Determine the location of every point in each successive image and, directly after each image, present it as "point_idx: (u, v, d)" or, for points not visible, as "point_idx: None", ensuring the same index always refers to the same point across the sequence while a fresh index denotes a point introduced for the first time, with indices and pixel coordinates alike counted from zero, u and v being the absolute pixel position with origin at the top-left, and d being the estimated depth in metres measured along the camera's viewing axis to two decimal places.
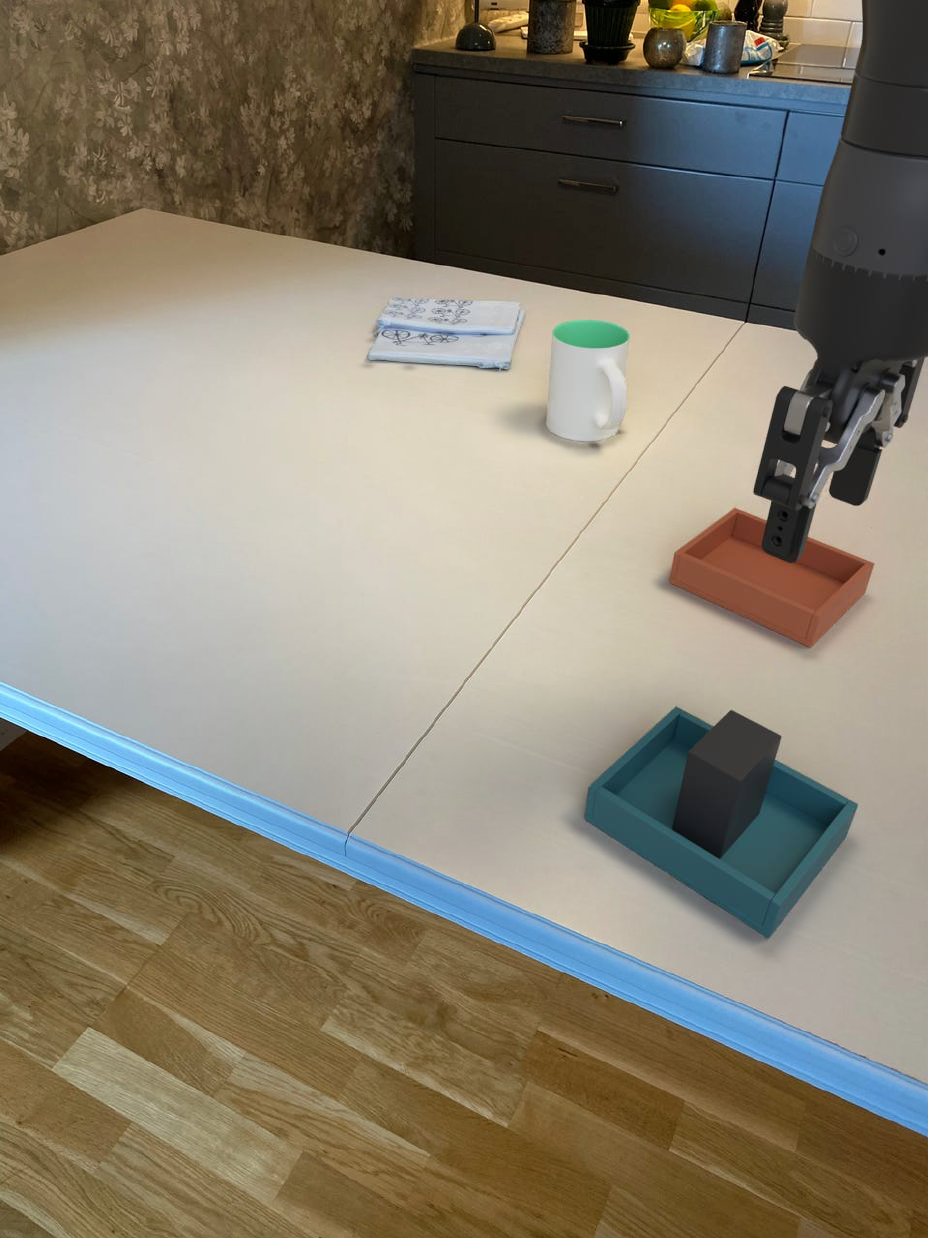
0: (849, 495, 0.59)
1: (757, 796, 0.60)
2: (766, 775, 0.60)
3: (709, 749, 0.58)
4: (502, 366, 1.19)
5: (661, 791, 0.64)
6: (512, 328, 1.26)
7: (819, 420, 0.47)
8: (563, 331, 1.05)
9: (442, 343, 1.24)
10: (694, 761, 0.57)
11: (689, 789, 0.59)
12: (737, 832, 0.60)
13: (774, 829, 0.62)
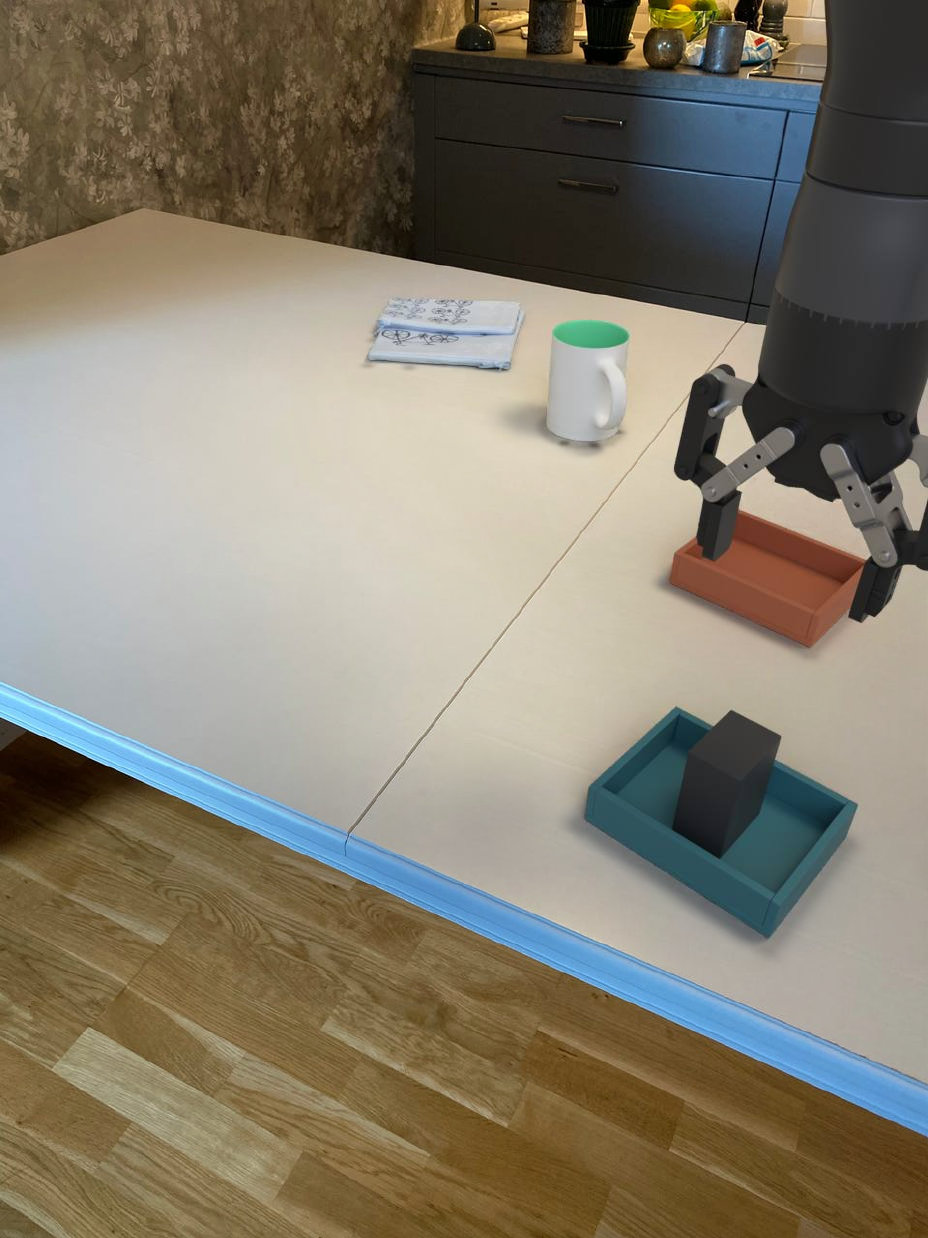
0: None
1: (757, 796, 0.60)
2: (766, 775, 0.60)
3: (709, 749, 0.58)
4: (502, 366, 1.19)
5: (661, 791, 0.64)
6: (512, 328, 1.26)
7: (691, 390, 0.50)
8: (563, 331, 1.05)
9: (442, 343, 1.24)
10: (694, 761, 0.57)
11: (689, 789, 0.59)
12: (737, 832, 0.60)
13: (774, 829, 0.62)
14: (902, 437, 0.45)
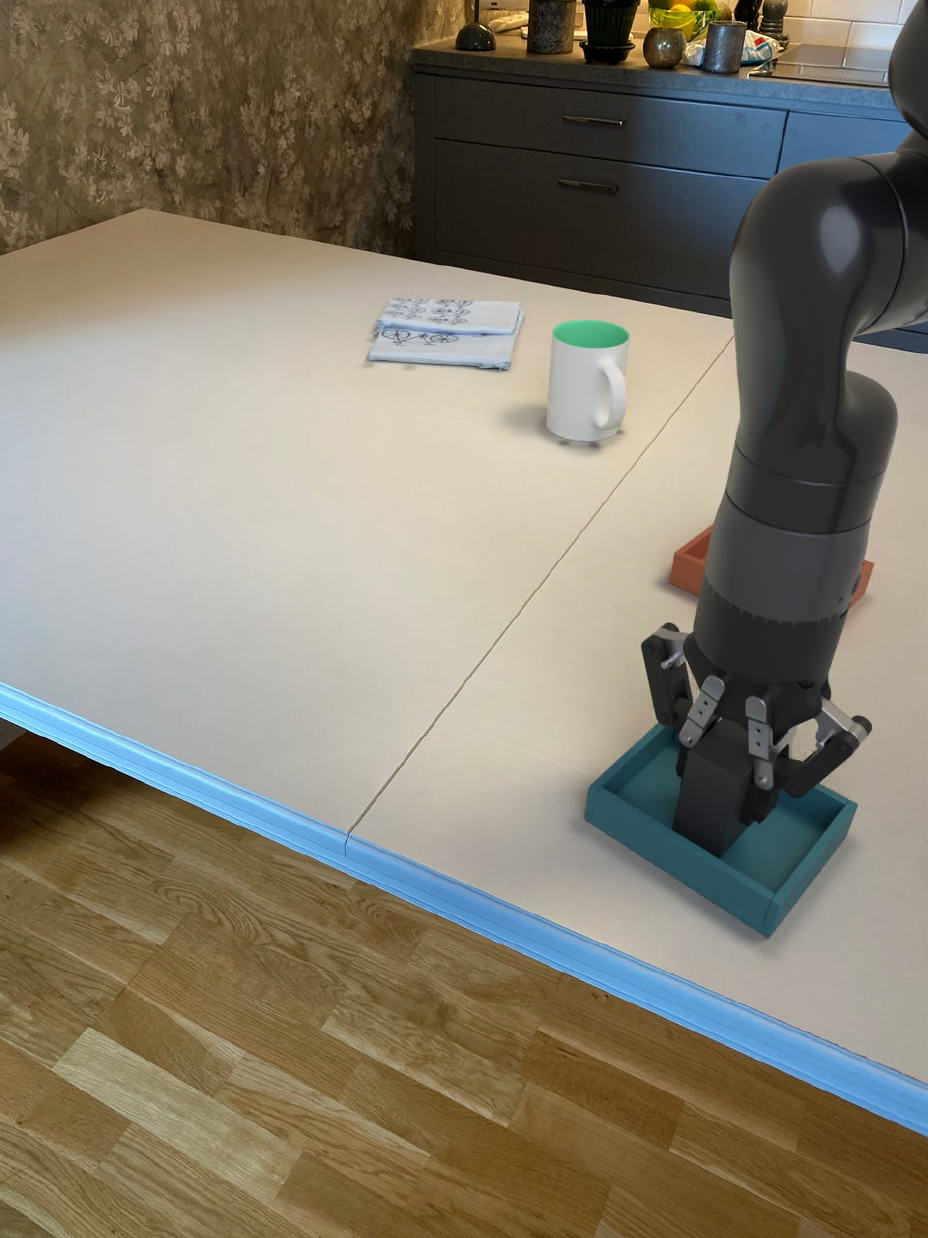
0: None
1: None
2: None
3: (709, 749, 0.58)
4: (502, 366, 1.19)
5: (661, 791, 0.64)
6: (512, 328, 1.26)
7: (642, 652, 0.58)
8: (563, 331, 1.05)
9: (442, 343, 1.24)
10: (694, 761, 0.57)
11: (689, 789, 0.59)
12: (737, 832, 0.60)
13: (774, 829, 0.62)
14: (816, 706, 0.52)
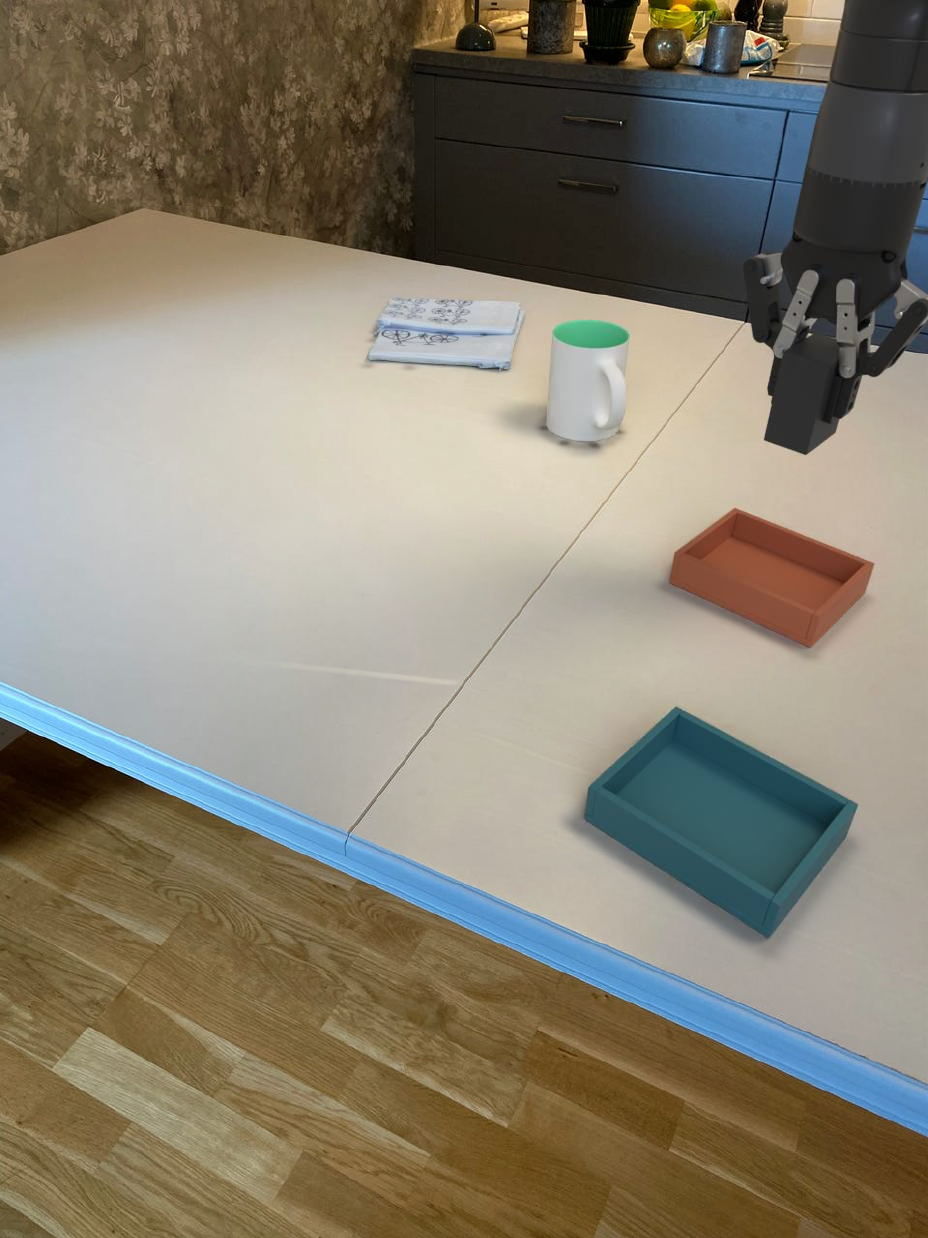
0: None
1: None
2: None
3: (801, 350, 0.69)
4: (502, 366, 1.19)
5: (661, 791, 0.64)
6: (512, 328, 1.26)
7: (744, 272, 0.70)
8: (563, 331, 1.05)
9: (442, 343, 1.24)
10: (788, 359, 0.69)
11: (782, 391, 0.71)
12: (820, 435, 0.72)
13: (774, 829, 0.62)
14: (896, 278, 0.63)
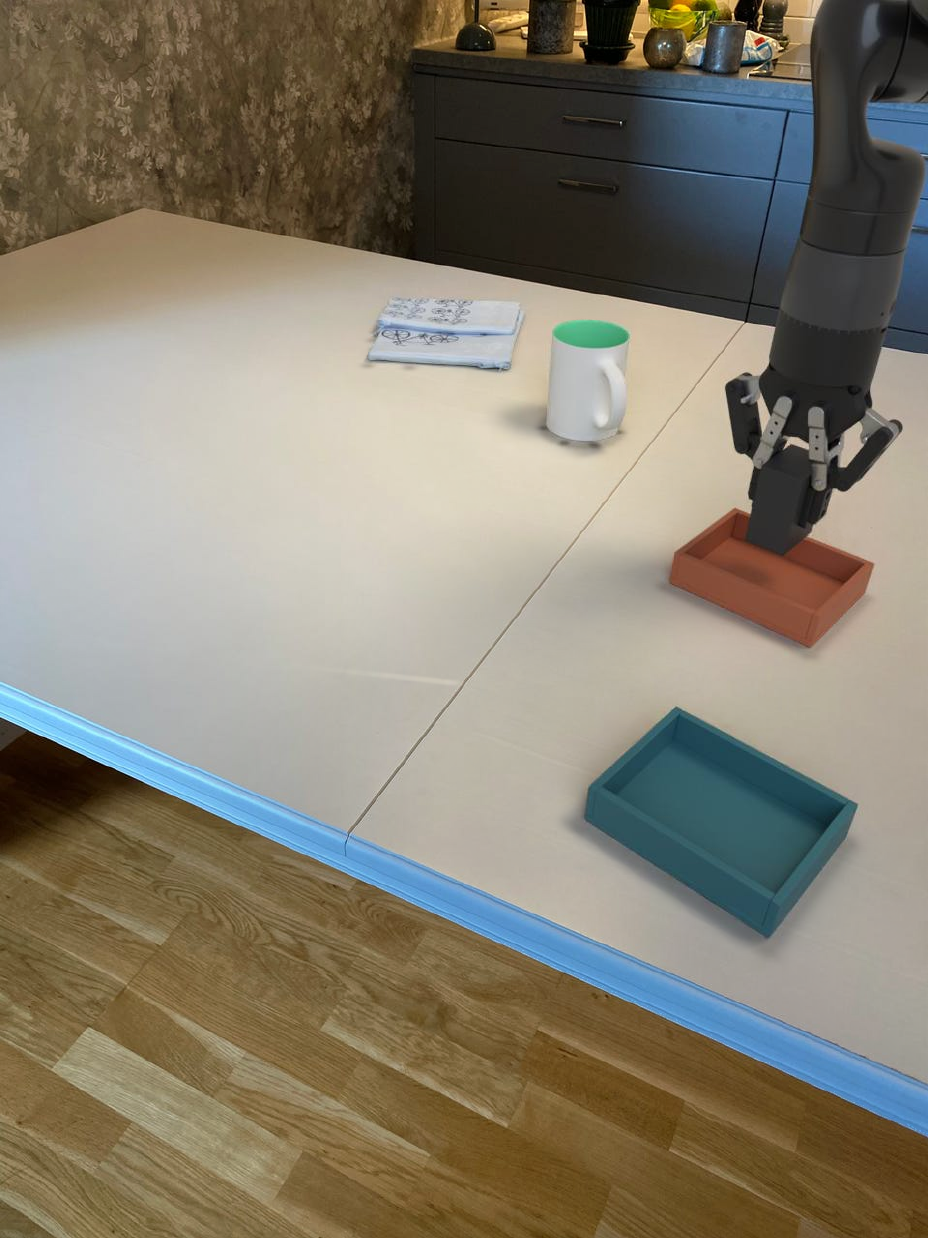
0: None
1: None
2: None
3: (777, 464, 0.76)
4: (502, 366, 1.19)
5: (661, 791, 0.64)
6: (512, 328, 1.26)
7: (726, 392, 0.77)
8: (563, 331, 1.05)
9: (442, 343, 1.24)
10: (766, 472, 0.76)
11: (760, 499, 0.77)
12: (796, 537, 0.79)
13: (774, 829, 0.62)
14: (861, 408, 0.70)
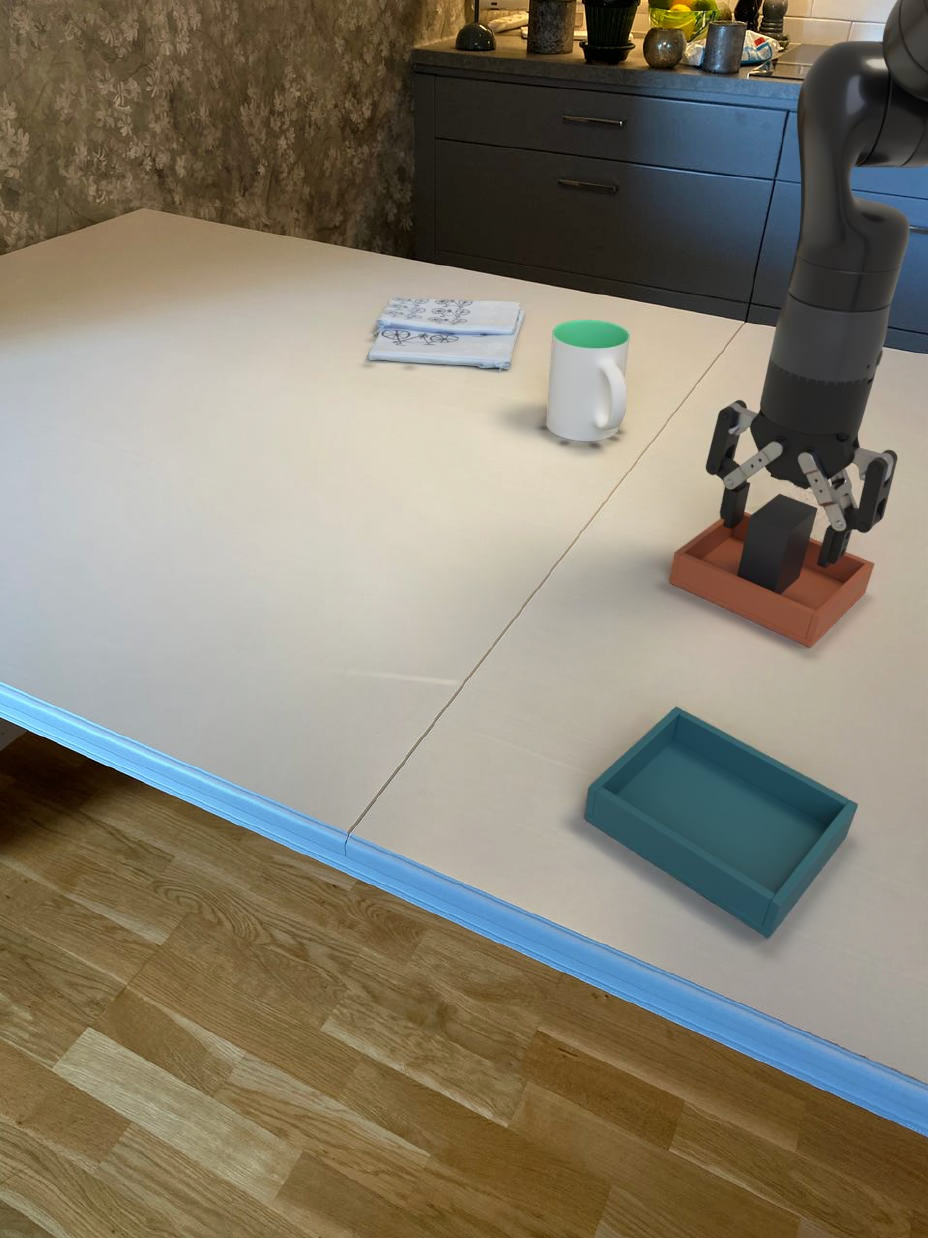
0: None
1: (799, 557, 0.82)
2: (806, 540, 0.81)
3: (765, 514, 0.79)
4: (502, 366, 1.19)
5: (661, 791, 0.64)
6: (512, 328, 1.26)
7: (718, 417, 0.78)
8: (563, 331, 1.05)
9: (442, 343, 1.24)
10: (754, 523, 0.79)
11: (749, 547, 0.80)
12: (784, 584, 0.82)
13: (774, 829, 0.62)
14: (847, 449, 0.72)
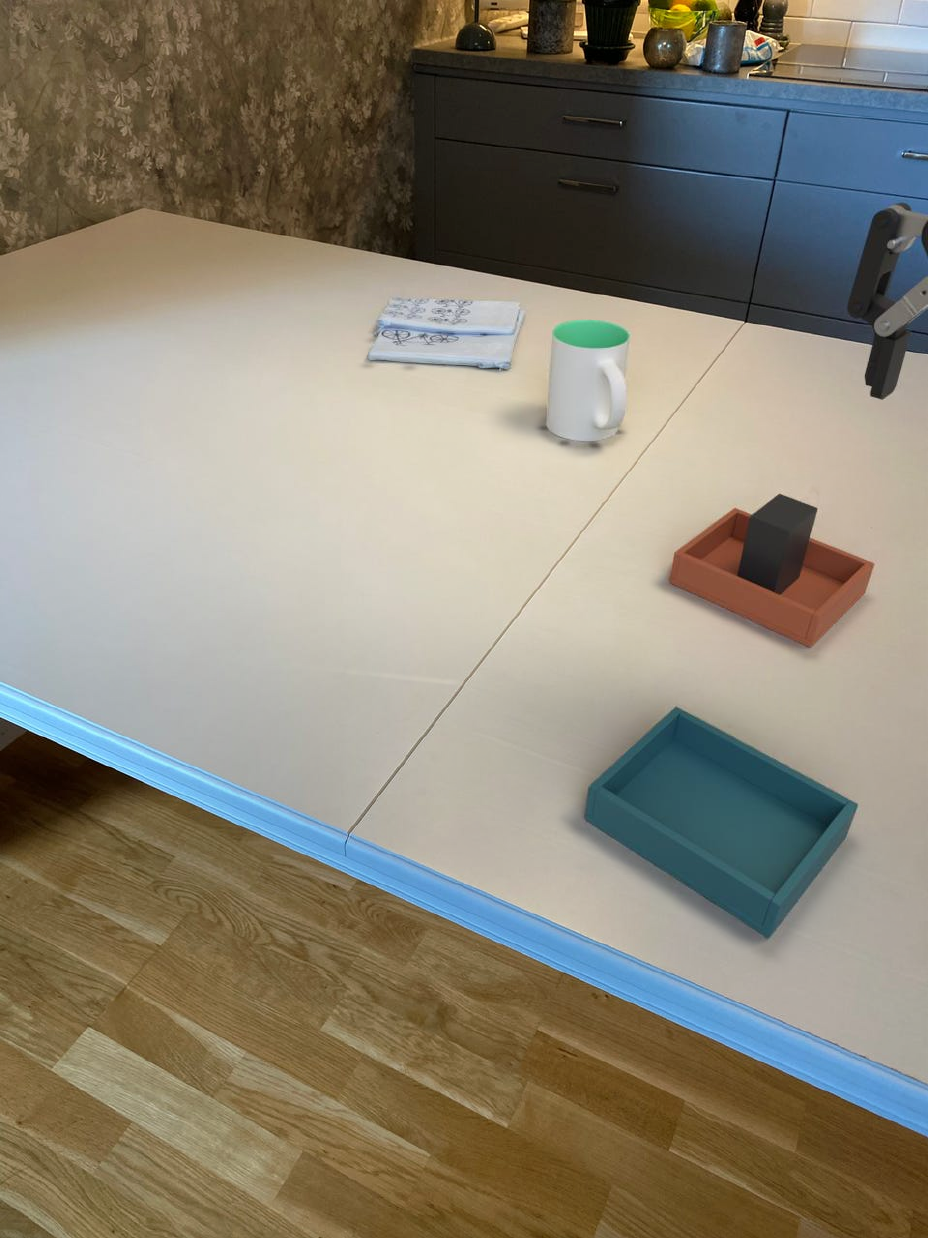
0: None
1: (799, 557, 0.82)
2: (806, 540, 0.81)
3: (765, 514, 0.79)
4: (502, 366, 1.19)
5: (661, 791, 0.64)
6: (512, 328, 1.26)
7: (871, 224, 0.54)
8: (563, 331, 1.05)
9: (442, 343, 1.24)
10: (754, 523, 0.79)
11: (749, 547, 0.80)
12: (784, 584, 0.82)
13: (774, 829, 0.62)
14: None
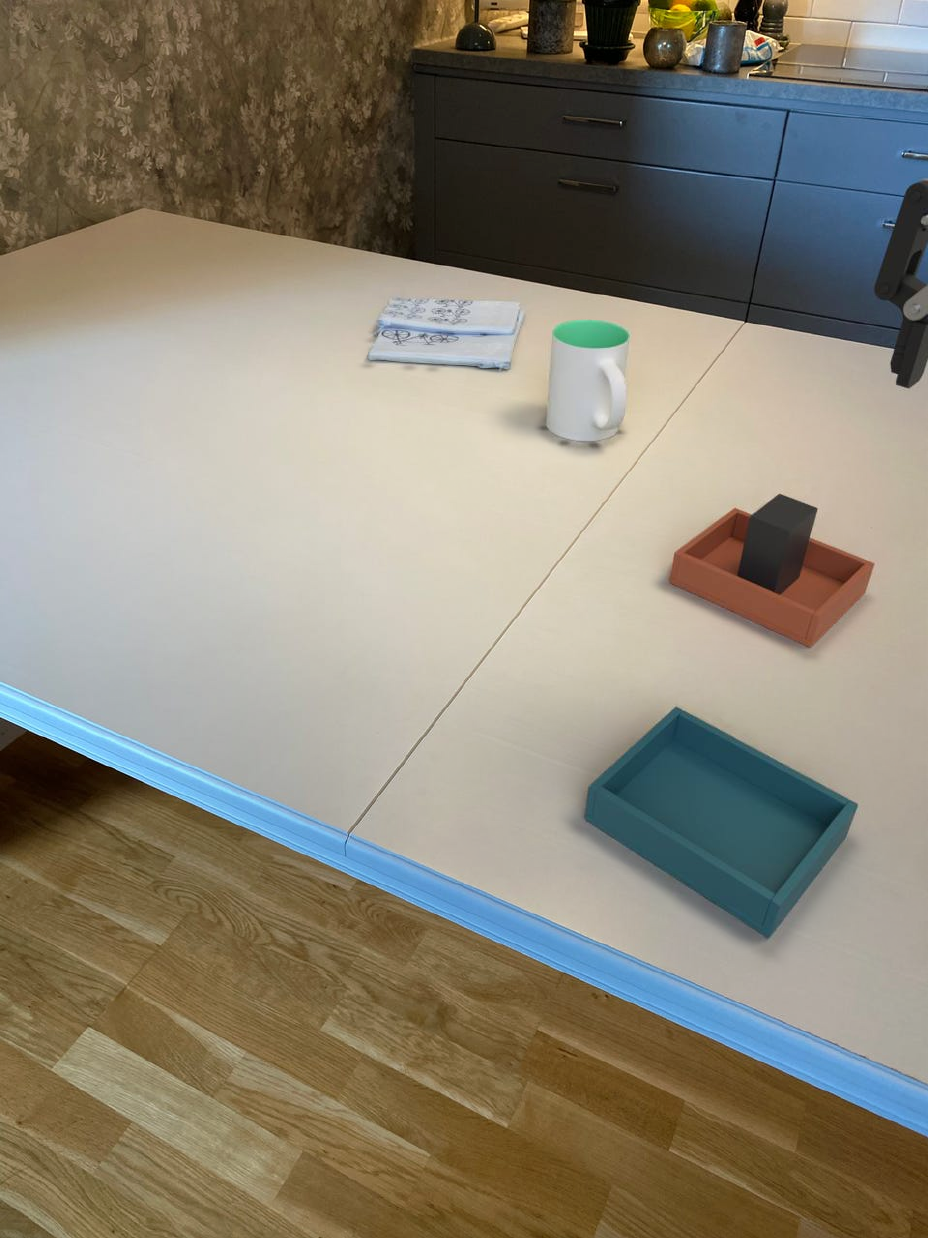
0: None
1: (799, 557, 0.82)
2: (806, 540, 0.81)
3: (765, 514, 0.79)
4: (502, 366, 1.19)
5: (661, 791, 0.64)
6: (512, 328, 1.26)
7: (904, 198, 0.50)
8: (563, 331, 1.05)
9: (442, 343, 1.24)
10: (754, 523, 0.79)
11: (749, 547, 0.80)
12: (784, 584, 0.82)
13: (774, 829, 0.62)
14: None
